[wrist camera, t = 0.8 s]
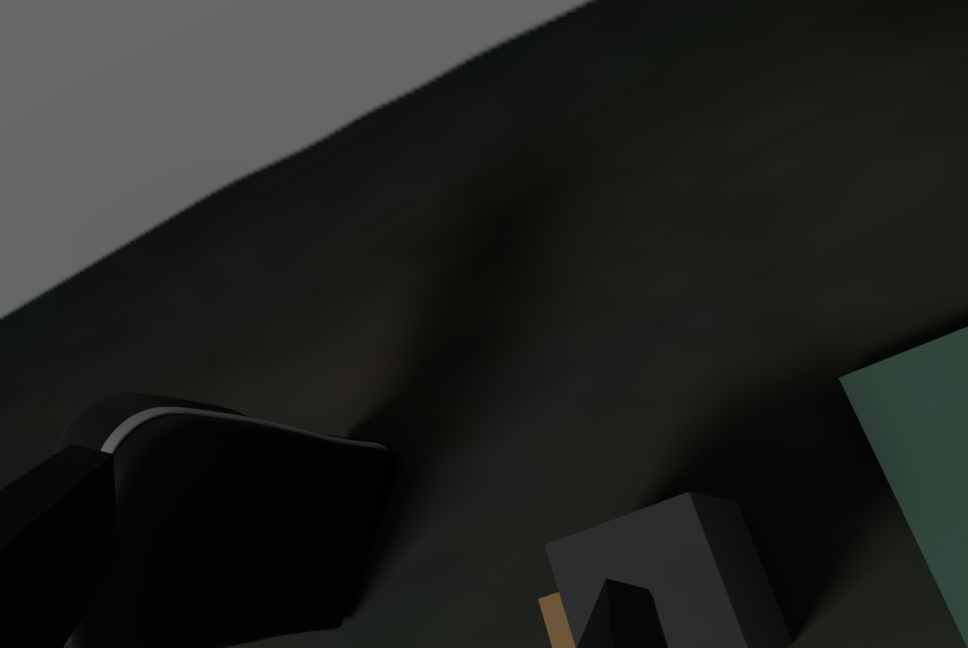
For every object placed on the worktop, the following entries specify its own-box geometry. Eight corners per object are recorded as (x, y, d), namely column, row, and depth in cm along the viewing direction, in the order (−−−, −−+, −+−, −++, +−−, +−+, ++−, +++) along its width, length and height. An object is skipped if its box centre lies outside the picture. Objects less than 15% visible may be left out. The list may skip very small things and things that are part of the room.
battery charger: (332, 418, 32) (59, 365, 22) (407, 449, 30) (144, 406, 20) (271, 593, 32) (-34, 617, 22) (344, 637, 30) (44, 684, 20)
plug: (793, 643, 23) (754, 666, 18) (640, 686, 24) (572, 716, 20) (736, 500, 24) (688, 491, 20) (596, 550, 26) (524, 551, 22)
